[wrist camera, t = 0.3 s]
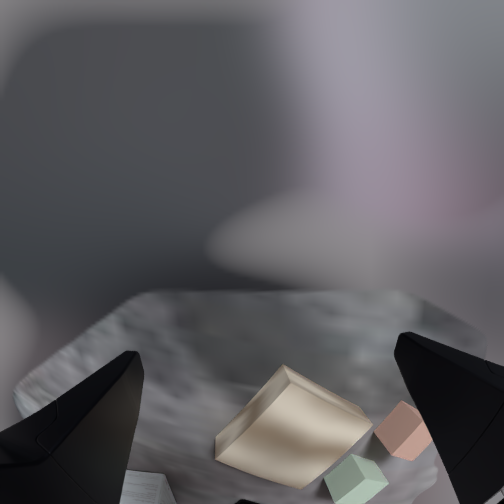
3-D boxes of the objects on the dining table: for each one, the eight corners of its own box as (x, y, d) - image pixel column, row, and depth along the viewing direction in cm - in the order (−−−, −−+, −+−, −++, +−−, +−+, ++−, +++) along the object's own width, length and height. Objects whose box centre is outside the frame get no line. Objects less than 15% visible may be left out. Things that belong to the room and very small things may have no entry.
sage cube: (347, 483, 27) (359, 506, 22) (323, 477, 26) (334, 503, 21) (373, 460, 27) (389, 483, 22) (350, 453, 26) (365, 478, 21)
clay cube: (394, 440, 27) (412, 461, 22) (373, 431, 26) (391, 455, 21) (420, 411, 27) (441, 430, 22) (400, 400, 26) (422, 420, 21)
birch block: (294, 467, 26) (301, 489, 22) (215, 434, 25) (214, 459, 21) (357, 405, 26) (373, 424, 22) (281, 362, 25) (290, 382, 21)
